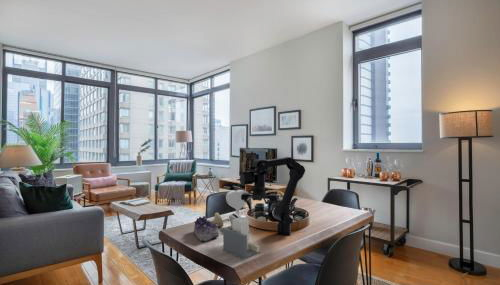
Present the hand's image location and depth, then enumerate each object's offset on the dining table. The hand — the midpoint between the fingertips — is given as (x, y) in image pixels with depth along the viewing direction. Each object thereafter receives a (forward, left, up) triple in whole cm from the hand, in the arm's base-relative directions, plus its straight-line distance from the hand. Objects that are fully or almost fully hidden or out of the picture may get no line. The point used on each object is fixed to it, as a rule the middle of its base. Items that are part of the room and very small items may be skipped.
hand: (259, 213), depth 138 cm
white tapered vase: (+6, +18, -12) cm, 22 cm away
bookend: (+5, +18, -13) cm, 23 cm away
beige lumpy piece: (+30, -12, -13) cm, 35 cm away
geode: (+30, +2, -13) cm, 33 cm away
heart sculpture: (+21, -35, -13) cm, 43 cm away
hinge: (+15, -12, -13) cm, 23 cm away
